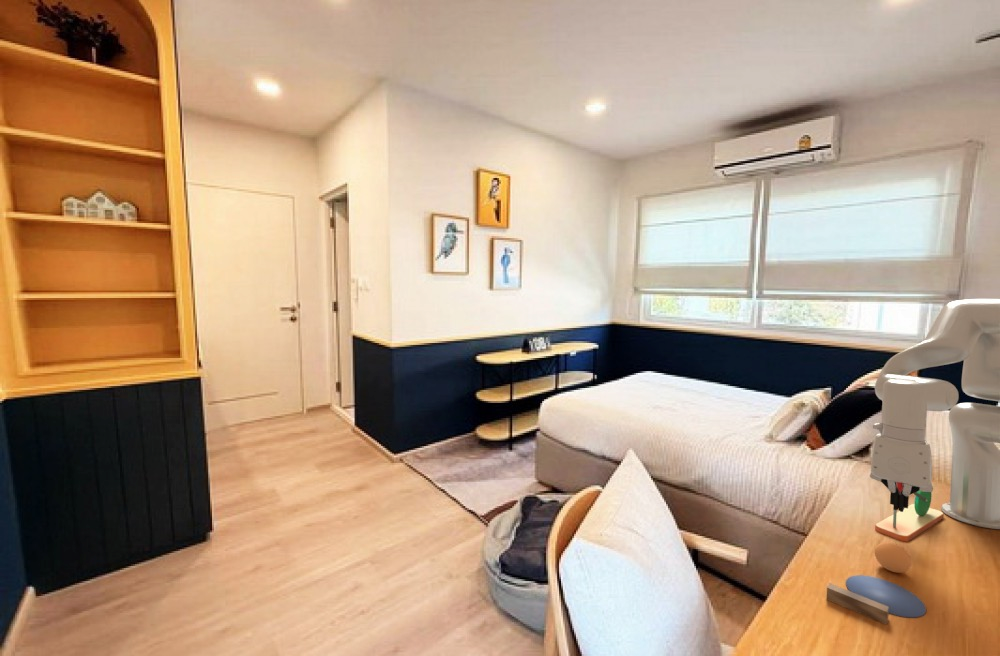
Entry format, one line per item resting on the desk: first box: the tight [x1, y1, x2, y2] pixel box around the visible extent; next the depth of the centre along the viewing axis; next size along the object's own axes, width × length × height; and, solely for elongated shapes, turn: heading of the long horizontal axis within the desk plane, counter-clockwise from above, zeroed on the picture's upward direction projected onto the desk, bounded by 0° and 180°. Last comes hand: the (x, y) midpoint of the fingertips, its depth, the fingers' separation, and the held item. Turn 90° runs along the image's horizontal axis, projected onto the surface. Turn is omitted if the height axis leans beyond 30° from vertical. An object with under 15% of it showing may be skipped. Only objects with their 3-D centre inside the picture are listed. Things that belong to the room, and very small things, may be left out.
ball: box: [874, 541, 913, 574], centre depth 93 cm, size 6×6×6 cm
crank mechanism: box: [874, 482, 945, 542], centre depth 112 cm, size 25×7×19 cm, turn 118°
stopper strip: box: [826, 583, 890, 626], centre depth 82 cm, size 9×2×2 cm, turn 40°
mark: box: [845, 574, 927, 618], centre depth 85 cm, size 12×12×1 cm
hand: (898, 508), depth 98 cm, fingers closed
